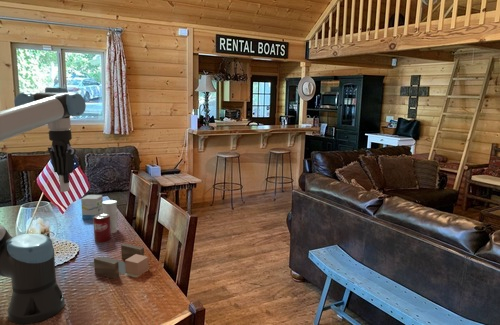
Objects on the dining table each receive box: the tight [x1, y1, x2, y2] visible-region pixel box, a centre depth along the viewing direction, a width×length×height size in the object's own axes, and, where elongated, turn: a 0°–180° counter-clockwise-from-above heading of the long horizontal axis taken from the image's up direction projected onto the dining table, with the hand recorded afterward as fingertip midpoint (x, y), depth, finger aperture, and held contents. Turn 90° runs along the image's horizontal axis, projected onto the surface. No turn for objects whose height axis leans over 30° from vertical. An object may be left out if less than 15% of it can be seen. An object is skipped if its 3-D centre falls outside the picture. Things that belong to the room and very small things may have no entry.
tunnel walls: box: [93, 243, 145, 280], centre depth 142 cm, size 16×10×6 cm, turn 156°
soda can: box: [92, 214, 113, 244], centre depth 167 cm, size 7×7×12 cm
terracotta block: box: [124, 254, 150, 277], centre depth 139 cm, size 6×6×5 cm
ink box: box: [80, 194, 104, 220], centre depth 201 cm, size 8×8×12 cm
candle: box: [102, 199, 119, 234], centre depth 179 cm, size 7×7×15 cm
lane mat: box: [87, 256, 148, 278], centre depth 143 cm, size 8×24×1 cm, turn 66°
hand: (65, 191), depth 140 cm, fingers closed
